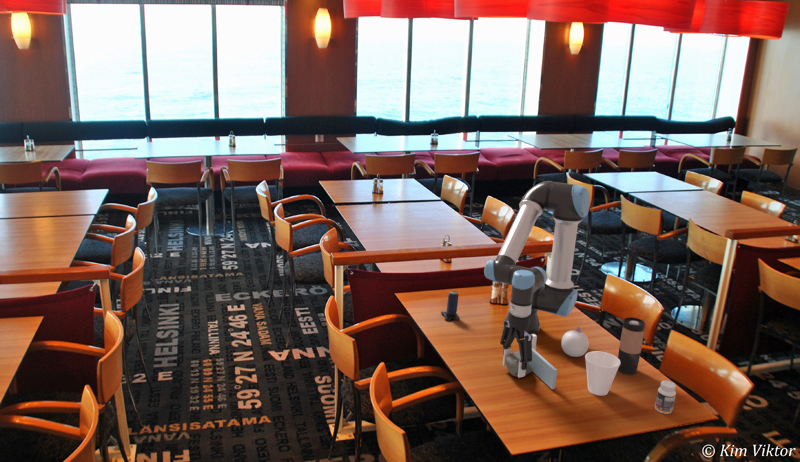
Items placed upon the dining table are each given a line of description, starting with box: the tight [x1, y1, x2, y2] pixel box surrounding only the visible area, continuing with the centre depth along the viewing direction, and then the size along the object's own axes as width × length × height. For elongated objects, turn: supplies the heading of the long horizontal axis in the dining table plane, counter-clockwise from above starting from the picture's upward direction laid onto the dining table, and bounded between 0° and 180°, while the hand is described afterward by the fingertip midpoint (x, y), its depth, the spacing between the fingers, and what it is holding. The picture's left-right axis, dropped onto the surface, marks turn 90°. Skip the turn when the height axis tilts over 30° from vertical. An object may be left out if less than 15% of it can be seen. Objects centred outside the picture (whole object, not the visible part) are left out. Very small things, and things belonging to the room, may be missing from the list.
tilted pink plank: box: [531, 334, 538, 351], centre depth 240 cm, size 4×2×10 cm, turn 117°
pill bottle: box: [654, 379, 677, 415], centre depth 210 cm, size 6×6×10 cm
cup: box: [584, 350, 621, 397], centre depth 220 cm, size 12×12×12 cm
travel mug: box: [617, 316, 646, 375], centre depth 234 cm, size 8×8×20 cm
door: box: [521, 339, 558, 390], centre depth 229 cm, size 23×3×8 cm, turn 19°
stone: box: [505, 350, 533, 377], centre depth 229 cm, size 9×9×10 cm
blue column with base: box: [440, 290, 461, 322], centre depth 274 cm, size 9×8×12 cm
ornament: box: [560, 326, 590, 358], centre depth 245 cm, size 10×10×12 cm
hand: (513, 370), depth 228 cm, fingers closed on stone, 8 cm apart
